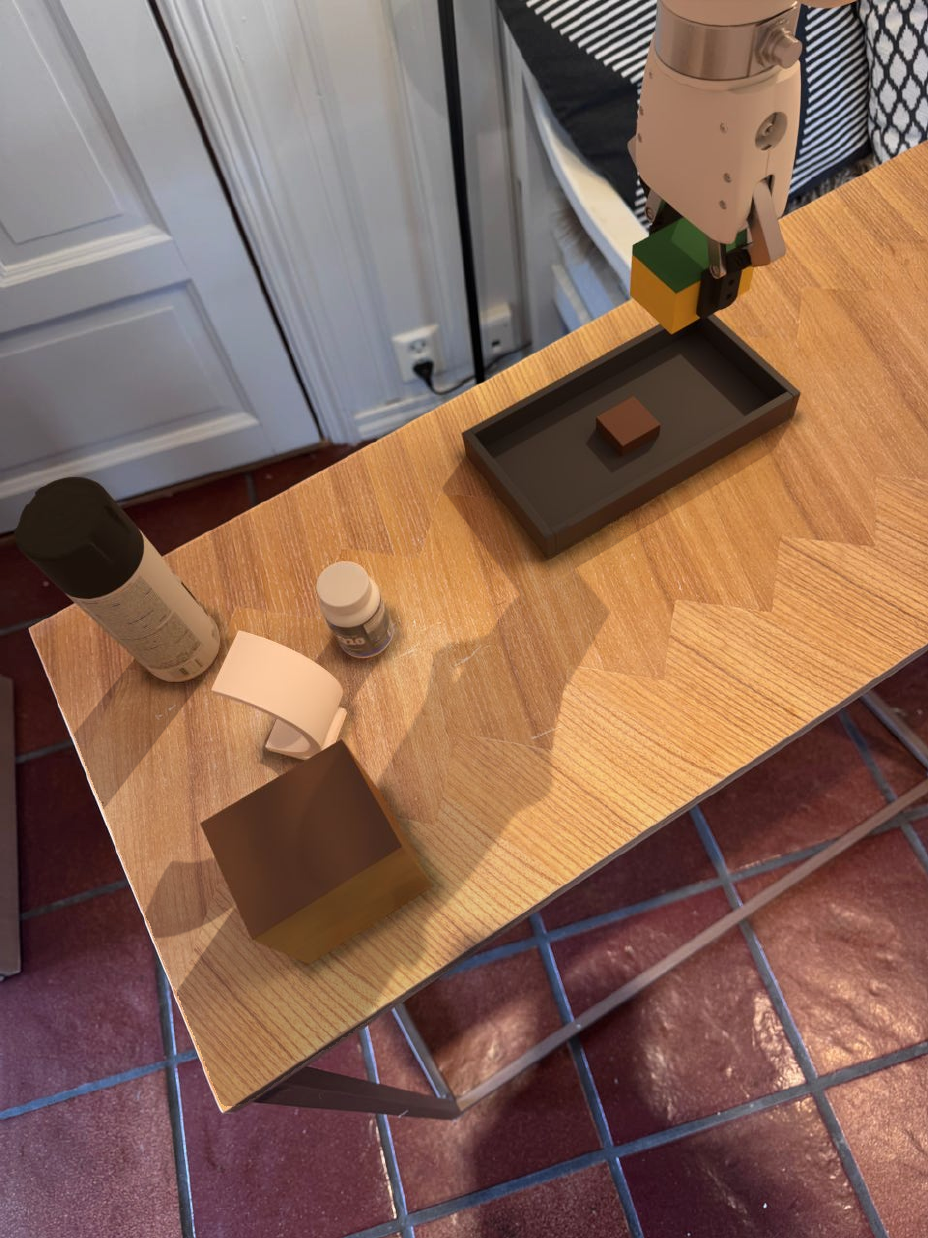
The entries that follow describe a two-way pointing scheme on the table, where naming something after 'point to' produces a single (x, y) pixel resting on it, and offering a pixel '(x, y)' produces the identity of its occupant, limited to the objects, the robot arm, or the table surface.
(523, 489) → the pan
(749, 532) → the table surface
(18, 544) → the spray can
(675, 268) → the sponge
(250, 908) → the brown wooden cube
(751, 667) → the table surface
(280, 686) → the cream curved piece
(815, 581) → the table surface
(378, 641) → the pill bottle
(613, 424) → the reddish brown block
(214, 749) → the table surface
